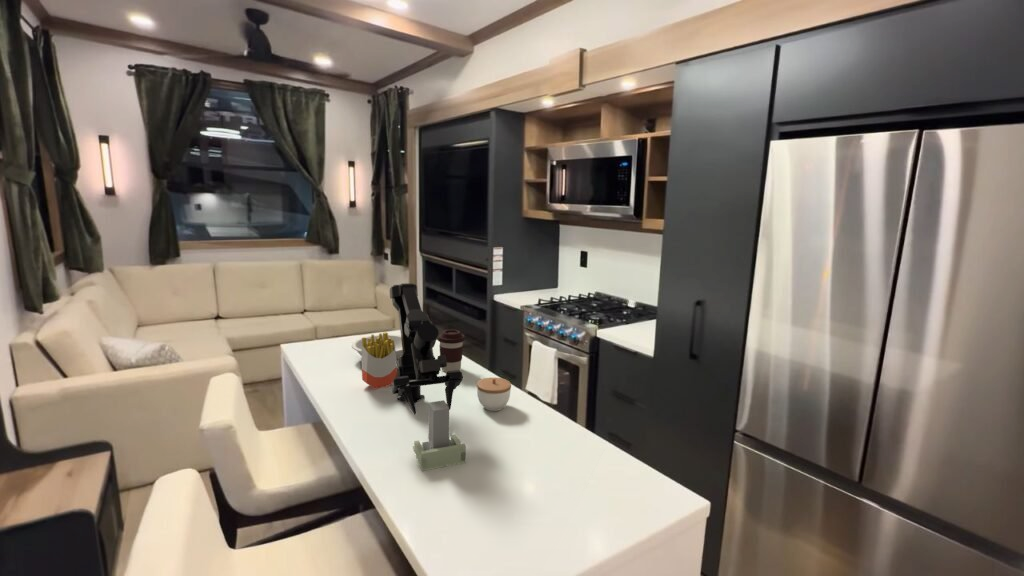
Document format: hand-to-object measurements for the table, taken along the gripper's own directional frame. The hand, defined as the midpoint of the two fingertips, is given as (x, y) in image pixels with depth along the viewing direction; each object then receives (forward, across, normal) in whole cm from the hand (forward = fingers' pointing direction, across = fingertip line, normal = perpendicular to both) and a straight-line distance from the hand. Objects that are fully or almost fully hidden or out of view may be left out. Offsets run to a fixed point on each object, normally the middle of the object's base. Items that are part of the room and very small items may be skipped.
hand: (432, 411), depth 124 cm
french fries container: (-24, -8, +38) cm, 46 cm away
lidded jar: (-4, +23, +18) cm, 30 cm away
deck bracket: (+11, 0, +1) cm, 11 cm away
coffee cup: (-29, +20, +43) cm, 56 cm away
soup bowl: (-43, -3, +58) cm, 72 cm away
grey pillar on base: (+10, 0, +1) cm, 10 cm away
